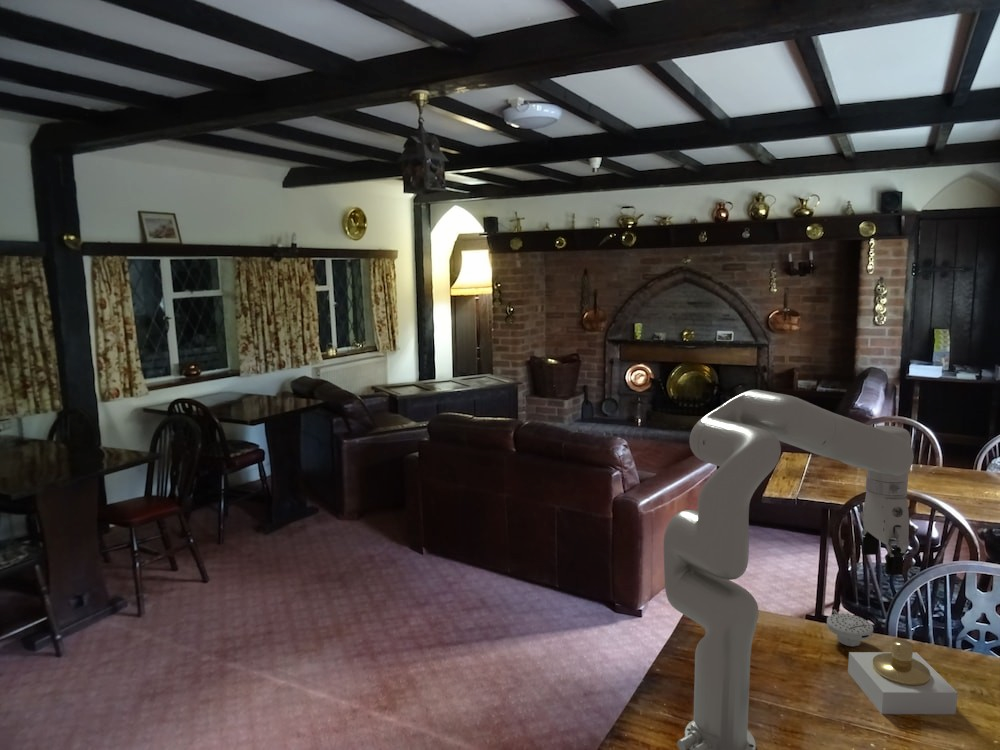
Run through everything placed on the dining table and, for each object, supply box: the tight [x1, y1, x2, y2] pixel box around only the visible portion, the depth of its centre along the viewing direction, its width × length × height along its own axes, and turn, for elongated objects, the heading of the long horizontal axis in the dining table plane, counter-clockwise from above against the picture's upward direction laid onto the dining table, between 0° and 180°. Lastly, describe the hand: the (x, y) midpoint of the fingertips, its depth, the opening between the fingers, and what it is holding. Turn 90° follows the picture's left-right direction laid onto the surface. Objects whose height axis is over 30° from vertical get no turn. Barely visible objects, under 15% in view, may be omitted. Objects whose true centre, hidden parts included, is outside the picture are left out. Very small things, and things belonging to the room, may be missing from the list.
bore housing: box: [847, 651, 959, 715], centre depth 140 cm, size 14×14×6 cm
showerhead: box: [826, 609, 874, 647], centre depth 158 cm, size 9×7×10 cm
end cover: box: [873, 638, 930, 686], centre depth 139 cm, size 10×10×10 cm
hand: (881, 563), depth 146 cm, fingers open, 9 cm apart
